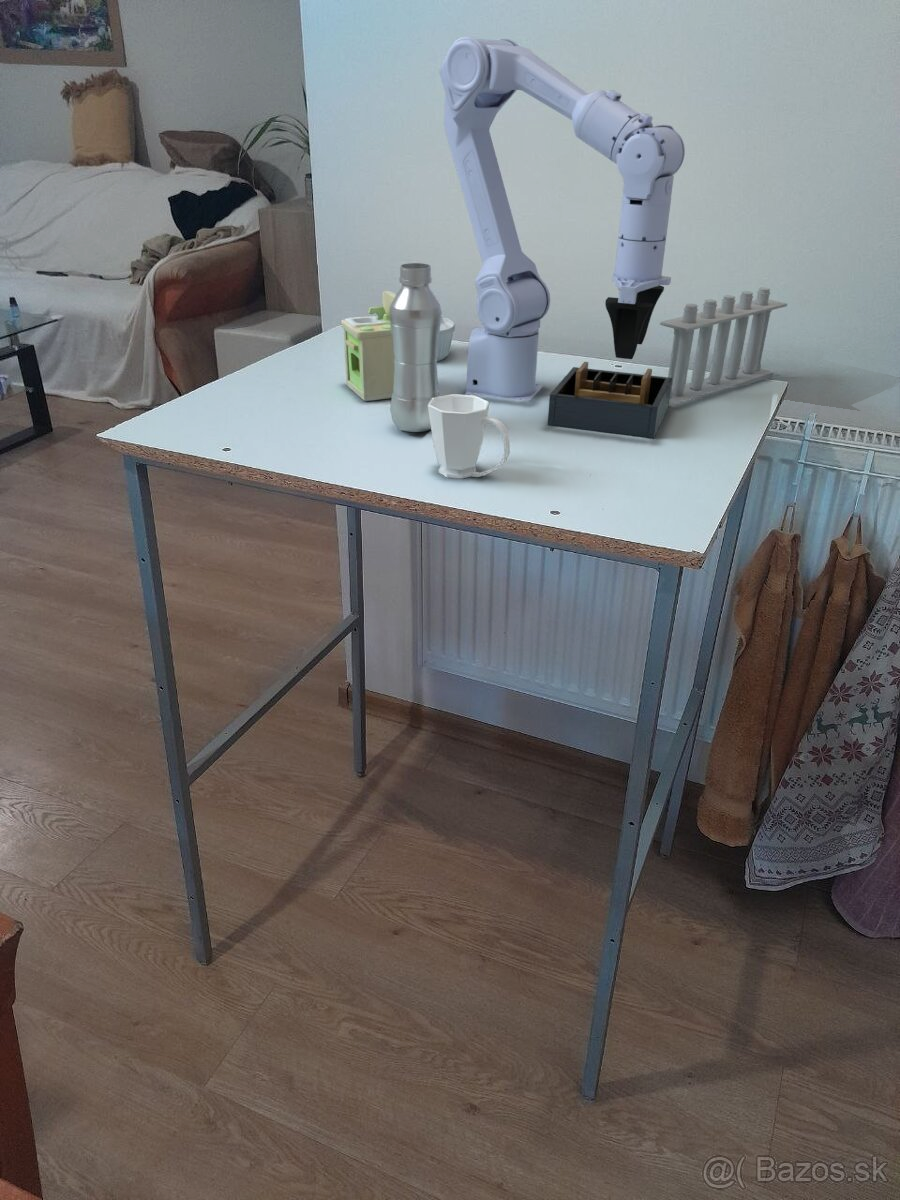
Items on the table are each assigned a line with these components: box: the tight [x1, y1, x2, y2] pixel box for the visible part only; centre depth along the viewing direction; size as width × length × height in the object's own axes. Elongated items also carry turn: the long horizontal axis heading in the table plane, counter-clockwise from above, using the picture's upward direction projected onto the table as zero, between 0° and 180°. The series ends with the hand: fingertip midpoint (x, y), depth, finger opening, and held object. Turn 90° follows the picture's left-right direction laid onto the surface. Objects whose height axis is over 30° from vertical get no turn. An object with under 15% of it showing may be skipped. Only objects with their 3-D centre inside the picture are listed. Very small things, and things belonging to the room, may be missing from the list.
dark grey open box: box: [547, 366, 672, 440], centre depth 124 cm, size 14×14×5 cm
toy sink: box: [340, 290, 397, 402], centre depth 131 cm, size 8×7×13 cm
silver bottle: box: [389, 262, 443, 433], centre depth 115 cm, size 6×7×20 cm
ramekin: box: [437, 316, 456, 362], centre depth 149 cm, size 11×11×5 cm
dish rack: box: [574, 361, 653, 404], centre depth 123 cm, size 9×5×6 cm, turn 71°
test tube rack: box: [659, 286, 788, 406], centre depth 135 cm, size 25×4×13 cm, turn 132°
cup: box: [428, 393, 511, 480], centre depth 105 cm, size 7×10×8 cm
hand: (629, 350), depth 120 cm, fingers open, 7 cm apart
